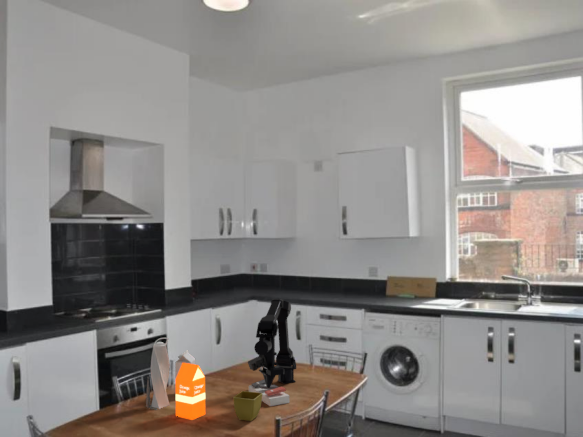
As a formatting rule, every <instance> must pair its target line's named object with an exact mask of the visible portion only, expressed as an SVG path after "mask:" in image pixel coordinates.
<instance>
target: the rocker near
mask: <svg viewBox="0 0 583 437" xmlns="http://www.w3.org/2000/svg"><path fill="white" fill-rule="evenodd" d="M259 384H262V385H265V384H266V383H265V379H264V378H263V379H262V380H259V381H255V382H252V383H251V385H252V386H253V387H254V388H257V387H258V385H259Z"/></svg>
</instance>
